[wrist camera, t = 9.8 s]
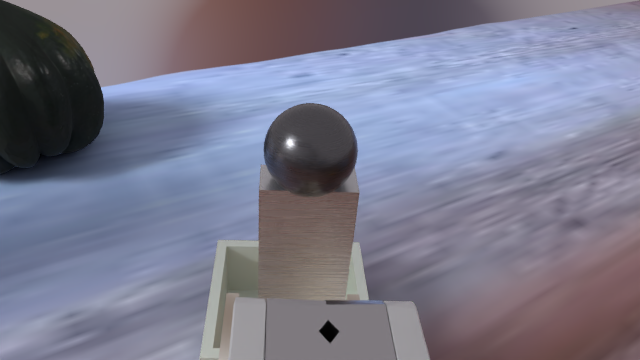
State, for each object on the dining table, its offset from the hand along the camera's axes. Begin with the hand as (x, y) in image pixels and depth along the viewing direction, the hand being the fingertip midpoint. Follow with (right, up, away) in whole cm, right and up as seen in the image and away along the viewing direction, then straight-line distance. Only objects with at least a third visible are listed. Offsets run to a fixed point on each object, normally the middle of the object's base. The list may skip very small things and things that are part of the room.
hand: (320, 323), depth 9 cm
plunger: (-1, -8, +14) cm, 16 cm away
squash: (-27, +5, +42) cm, 50 cm away
